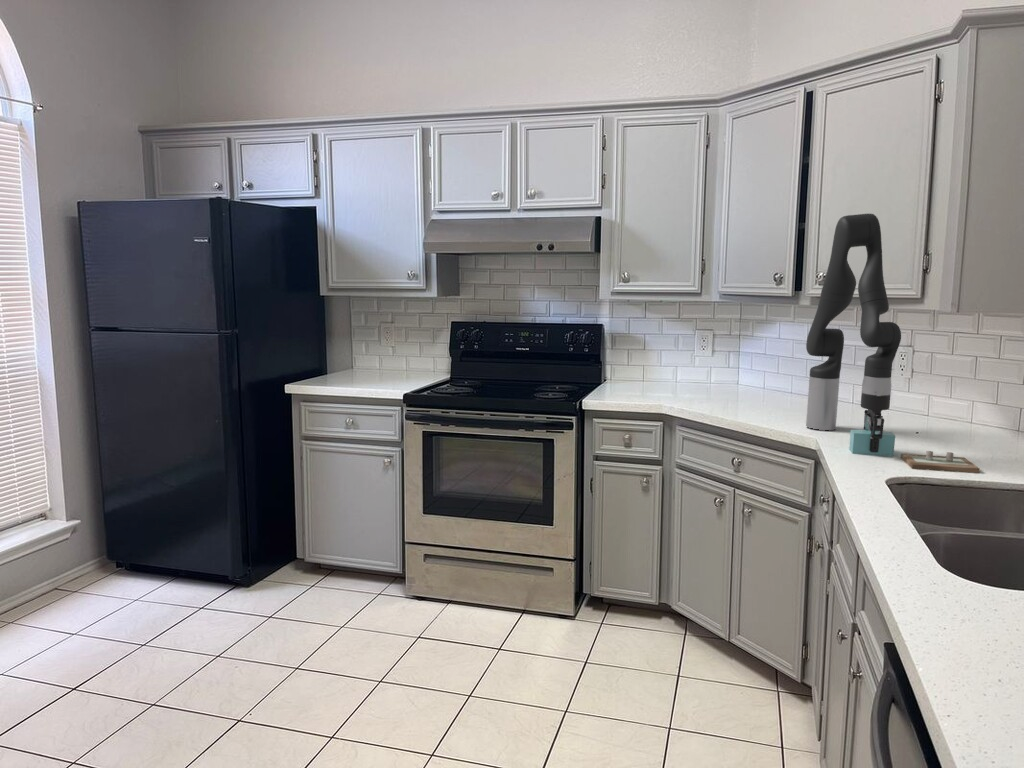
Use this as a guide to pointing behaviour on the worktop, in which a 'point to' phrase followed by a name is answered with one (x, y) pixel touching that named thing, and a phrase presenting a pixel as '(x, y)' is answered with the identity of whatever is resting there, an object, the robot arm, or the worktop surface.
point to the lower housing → (862, 443)
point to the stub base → (939, 462)
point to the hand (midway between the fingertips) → (871, 449)
